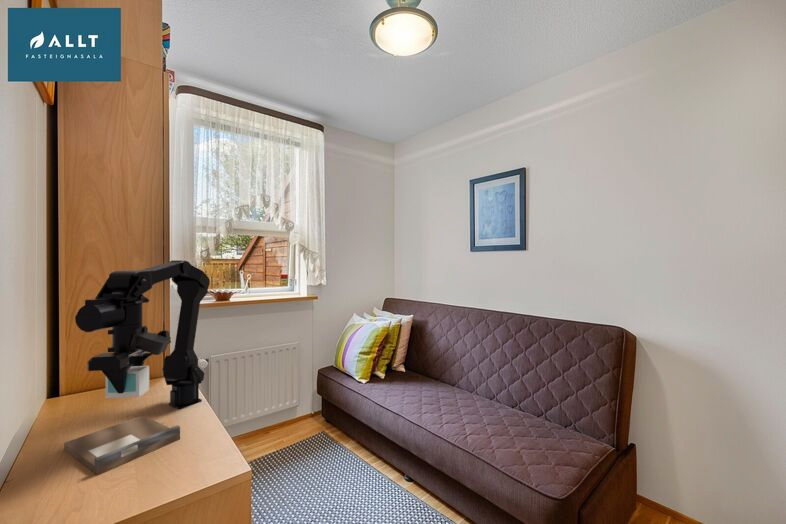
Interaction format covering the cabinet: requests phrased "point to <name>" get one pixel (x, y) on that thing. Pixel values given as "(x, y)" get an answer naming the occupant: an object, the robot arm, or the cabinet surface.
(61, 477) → the cabinet surface
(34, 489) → the cabinet surface
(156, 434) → the shelf board
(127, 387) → the carton
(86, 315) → the robot arm
